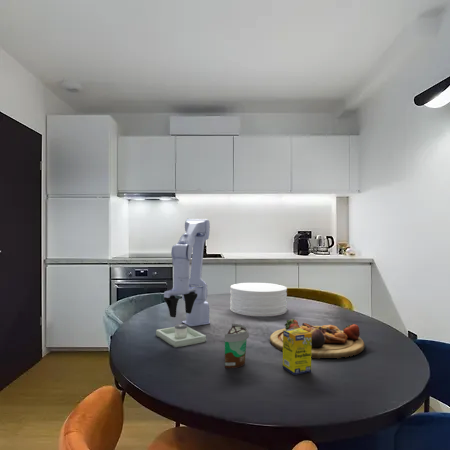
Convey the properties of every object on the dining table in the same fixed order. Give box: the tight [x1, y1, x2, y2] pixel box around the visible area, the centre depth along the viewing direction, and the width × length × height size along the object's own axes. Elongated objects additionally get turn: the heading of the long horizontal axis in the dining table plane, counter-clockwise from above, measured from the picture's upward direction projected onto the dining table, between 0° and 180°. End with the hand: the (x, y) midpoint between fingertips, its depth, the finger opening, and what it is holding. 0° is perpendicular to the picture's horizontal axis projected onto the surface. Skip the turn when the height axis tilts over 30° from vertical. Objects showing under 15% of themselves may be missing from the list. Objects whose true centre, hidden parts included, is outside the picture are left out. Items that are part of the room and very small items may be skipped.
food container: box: [223, 323, 250, 369], centre depth 104 cm, size 12×6×10 cm, turn 168°
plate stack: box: [229, 282, 288, 317], centre depth 175 cm, size 28×28×12 cm
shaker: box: [174, 323, 188, 339], centre depth 126 cm, size 4×4×4 cm
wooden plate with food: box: [269, 318, 366, 359], centre depth 123 cm, size 32×32×8 cm
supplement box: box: [282, 328, 312, 376], centre depth 99 cm, size 6×6×11 cm
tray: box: [155, 325, 207, 348], centre depth 126 cm, size 12×16×2 cm
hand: (180, 314), depth 126 cm, fingers open, 7 cm apart
